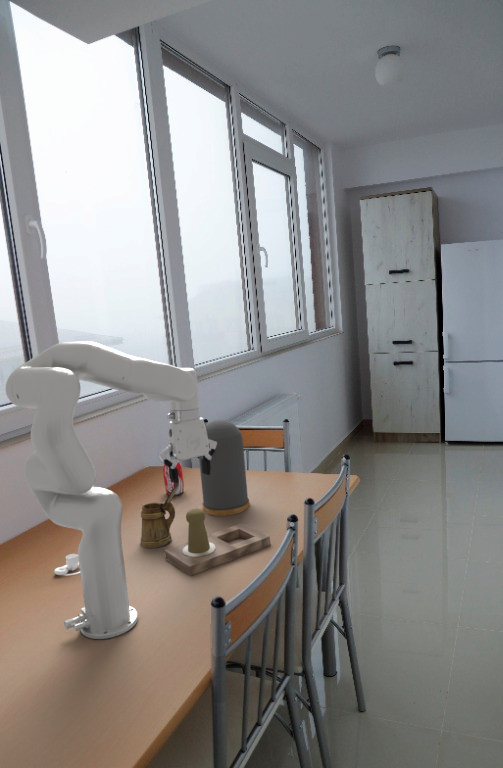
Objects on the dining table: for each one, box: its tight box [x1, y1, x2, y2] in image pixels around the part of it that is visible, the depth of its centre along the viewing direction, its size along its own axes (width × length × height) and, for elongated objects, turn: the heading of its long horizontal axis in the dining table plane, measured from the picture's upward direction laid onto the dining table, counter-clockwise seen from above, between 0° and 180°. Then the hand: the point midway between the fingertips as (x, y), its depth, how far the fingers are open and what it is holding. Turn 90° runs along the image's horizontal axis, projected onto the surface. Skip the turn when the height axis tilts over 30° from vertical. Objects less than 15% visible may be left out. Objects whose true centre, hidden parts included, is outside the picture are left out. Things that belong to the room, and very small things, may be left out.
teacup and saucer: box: [54, 553, 81, 577], centre depth 162 cm, size 9×8×4 cm
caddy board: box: [164, 522, 271, 577], centre depth 166 cm, size 26×14×3 cm, turn 126°
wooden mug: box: [140, 483, 179, 549], centre depth 175 cm, size 9×14×18 cm, turn 81°
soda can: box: [162, 460, 185, 496], centre depth 219 cm, size 7×7×12 cm
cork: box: [185, 508, 210, 554], centre depth 161 cm, size 6×6×11 cm
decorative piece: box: [198, 419, 250, 517], centre depth 198 cm, size 16×16×30 cm
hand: (190, 478), depth 159 cm, fingers open, 9 cm apart
